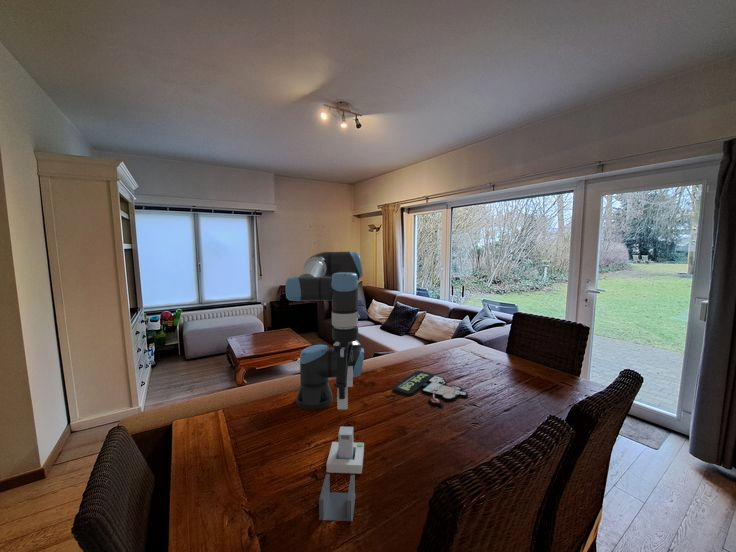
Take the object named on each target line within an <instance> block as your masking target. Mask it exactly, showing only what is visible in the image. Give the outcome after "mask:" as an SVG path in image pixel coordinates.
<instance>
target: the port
mask: <svg viewBox="0 0 736 552" xmlns="http://www.w3.org/2000/svg"><path fill="white" fill-rule="evenodd" d="M364 453H365V442H363V441H362V442H354V458H353V460H351V459H339V448H338V441H332V442H331V446H330V450H329V454H328V458H327V460H326V473H333V474H334V473H336V474H362V473H363V465H364Z"/></svg>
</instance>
